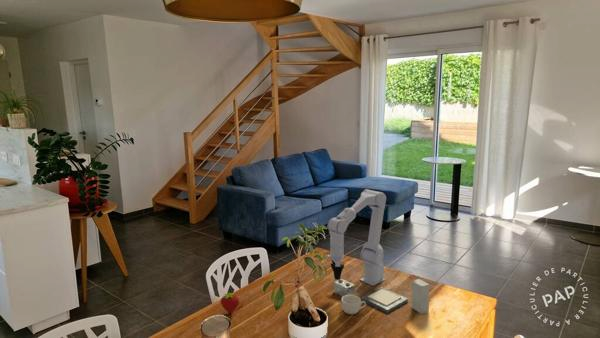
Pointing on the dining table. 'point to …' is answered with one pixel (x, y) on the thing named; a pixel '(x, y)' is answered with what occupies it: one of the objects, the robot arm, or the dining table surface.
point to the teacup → (351, 304)
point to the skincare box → (420, 296)
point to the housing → (344, 287)
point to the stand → (384, 299)
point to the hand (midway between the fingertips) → (336, 275)
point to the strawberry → (229, 302)
